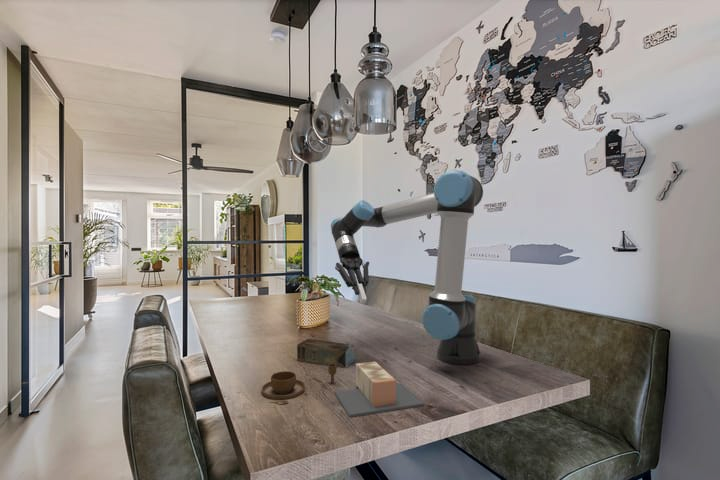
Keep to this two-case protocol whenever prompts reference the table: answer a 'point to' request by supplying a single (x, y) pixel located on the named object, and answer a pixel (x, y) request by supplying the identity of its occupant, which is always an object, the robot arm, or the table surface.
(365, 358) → the table surface
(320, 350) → the beverage carton
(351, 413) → the rubber mat
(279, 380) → the place setting
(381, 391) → the birch block
